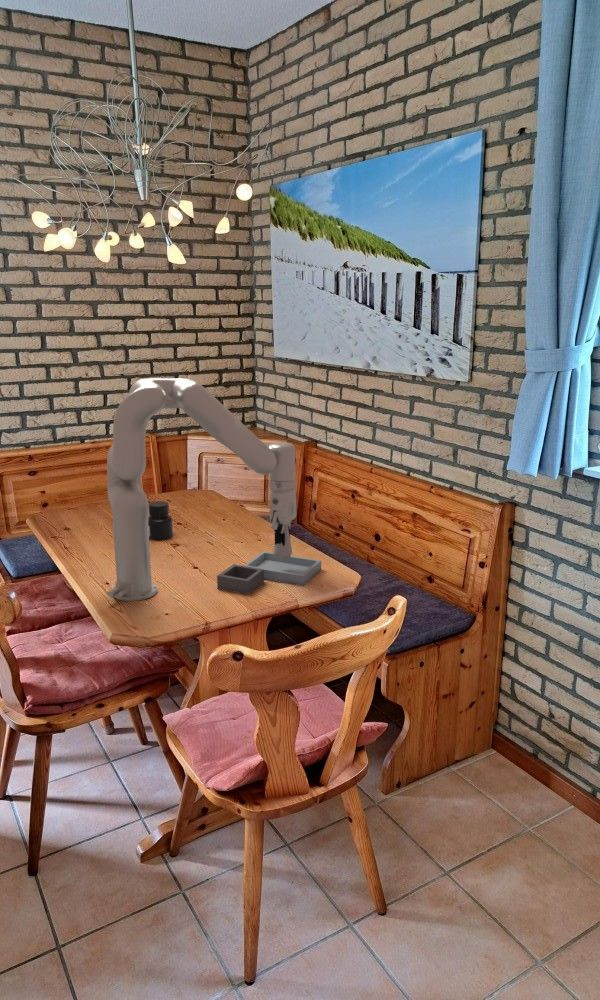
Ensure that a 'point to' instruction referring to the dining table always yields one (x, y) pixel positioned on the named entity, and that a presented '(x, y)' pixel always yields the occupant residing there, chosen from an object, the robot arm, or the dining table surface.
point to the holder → (240, 579)
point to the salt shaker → (283, 551)
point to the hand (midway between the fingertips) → (282, 542)
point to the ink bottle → (159, 521)
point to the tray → (286, 568)
